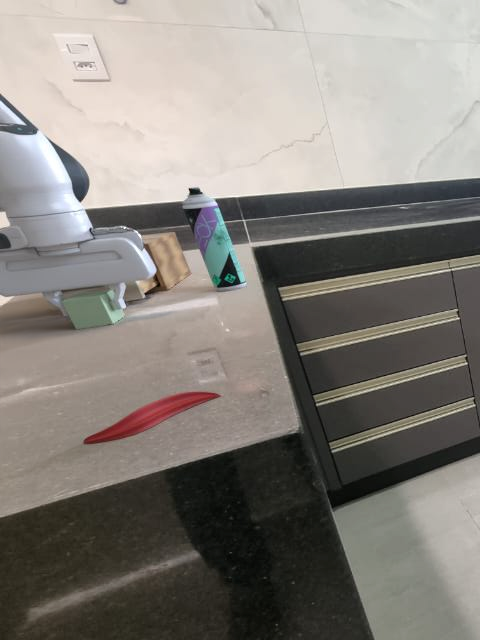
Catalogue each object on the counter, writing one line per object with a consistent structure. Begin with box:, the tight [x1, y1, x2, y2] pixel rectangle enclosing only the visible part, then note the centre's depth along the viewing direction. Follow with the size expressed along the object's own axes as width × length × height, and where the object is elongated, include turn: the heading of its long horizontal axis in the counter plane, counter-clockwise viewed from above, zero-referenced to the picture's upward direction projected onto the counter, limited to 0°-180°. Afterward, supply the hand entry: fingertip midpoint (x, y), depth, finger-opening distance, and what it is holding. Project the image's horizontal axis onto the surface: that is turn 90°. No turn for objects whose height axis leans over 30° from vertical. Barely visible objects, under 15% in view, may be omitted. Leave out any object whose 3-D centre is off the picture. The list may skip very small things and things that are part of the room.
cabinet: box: [140, 231, 192, 294], centre depth 113 cm, size 16×15×10 cm
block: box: [62, 290, 126, 330], centre depth 91 cm, size 5×5×5 cm
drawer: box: [46, 273, 160, 312], centre depth 102 cm, size 19×14×8 cm
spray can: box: [181, 186, 248, 292], centre depth 106 cm, size 6×6×20 cm
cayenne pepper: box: [82, 391, 222, 444], centre depth 58 cm, size 12×5×2 cm, turn 138°
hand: (96, 312), depth 91 cm, fingers closed on block, 5 cm apart
